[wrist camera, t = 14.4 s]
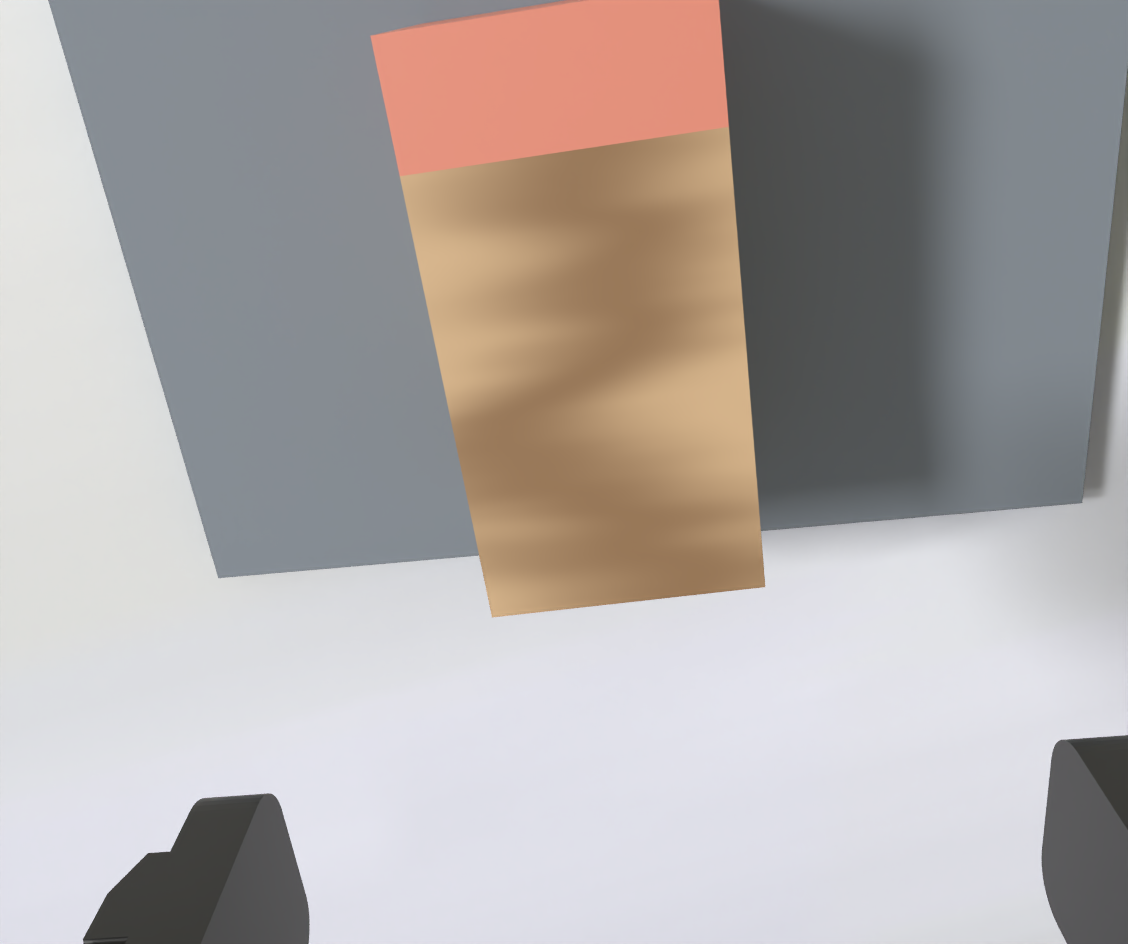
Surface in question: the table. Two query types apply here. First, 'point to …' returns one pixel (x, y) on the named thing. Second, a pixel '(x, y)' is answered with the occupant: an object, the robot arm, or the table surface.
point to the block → (584, 293)
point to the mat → (765, 241)
